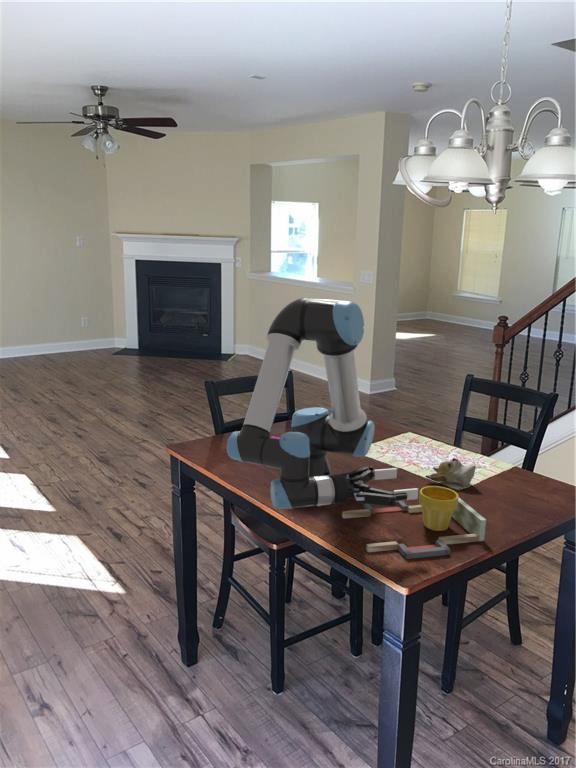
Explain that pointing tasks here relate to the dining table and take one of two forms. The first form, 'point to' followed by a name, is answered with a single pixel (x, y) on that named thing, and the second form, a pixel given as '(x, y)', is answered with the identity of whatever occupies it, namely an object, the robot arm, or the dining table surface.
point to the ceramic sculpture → (453, 472)
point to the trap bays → (405, 551)
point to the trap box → (461, 514)
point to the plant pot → (437, 506)
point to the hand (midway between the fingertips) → (406, 482)
